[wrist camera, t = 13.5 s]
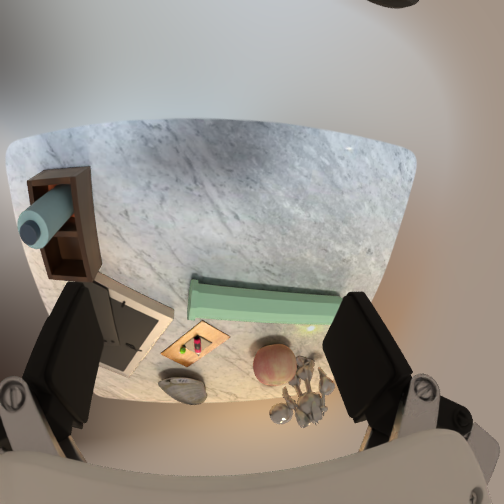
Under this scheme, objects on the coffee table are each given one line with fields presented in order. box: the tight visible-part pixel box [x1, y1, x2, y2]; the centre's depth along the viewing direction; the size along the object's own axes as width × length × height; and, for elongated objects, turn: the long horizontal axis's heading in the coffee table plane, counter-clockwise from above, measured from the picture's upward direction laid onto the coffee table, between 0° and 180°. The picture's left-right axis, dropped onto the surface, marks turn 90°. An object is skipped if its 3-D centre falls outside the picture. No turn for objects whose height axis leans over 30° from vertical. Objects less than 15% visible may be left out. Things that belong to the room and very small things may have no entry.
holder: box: [27, 166, 102, 282], centre depth 28 cm, size 7×14×4 cm, turn 173°
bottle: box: [18, 184, 74, 249], centre depth 24 cm, size 4×4×10 cm
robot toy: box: [270, 356, 335, 428], centre depth 48 cm, size 15×6×15 cm, turn 130°
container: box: [187, 279, 343, 325], centre depth 40 cm, size 6×6×25 cm
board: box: [161, 320, 230, 367], centre depth 45 cm, size 6×12×2 cm, turn 132°
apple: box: [253, 344, 297, 386], centre depth 46 cm, size 8×8×8 cm
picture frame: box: [75, 272, 174, 378], centre depth 40 cm, size 16×3×21 cm
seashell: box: [158, 377, 207, 405], centre depth 49 cm, size 12×8×5 cm
